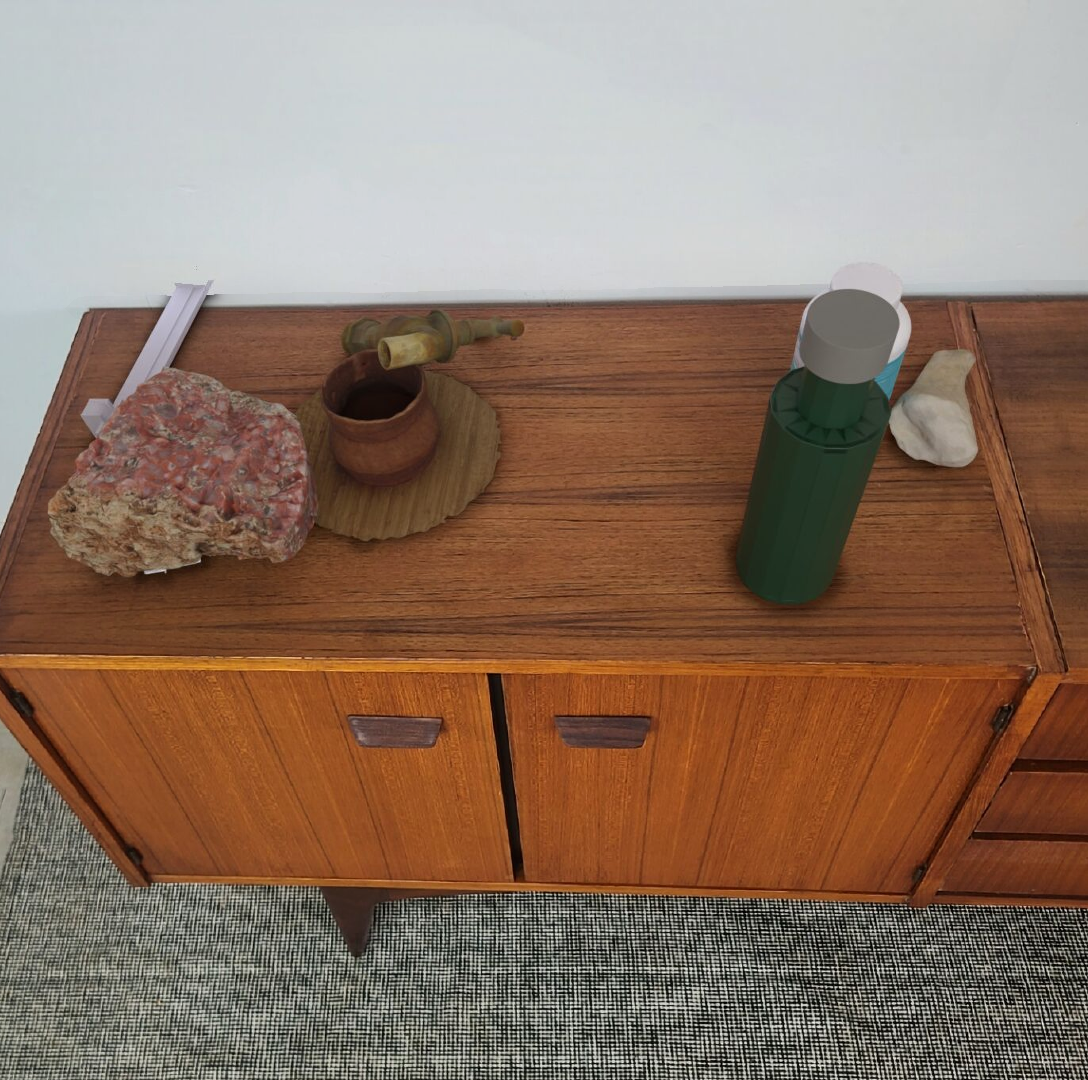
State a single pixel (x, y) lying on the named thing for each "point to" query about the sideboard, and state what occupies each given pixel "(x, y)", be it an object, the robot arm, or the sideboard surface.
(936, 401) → the beige lumpy piece
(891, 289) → the pill bottle
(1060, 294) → the sideboard surface
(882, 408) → the bottle
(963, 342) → the sideboard surface
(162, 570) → the card
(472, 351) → the sideboard surface
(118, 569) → the rock
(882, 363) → the cylinder
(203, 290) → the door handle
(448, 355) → the faucet
